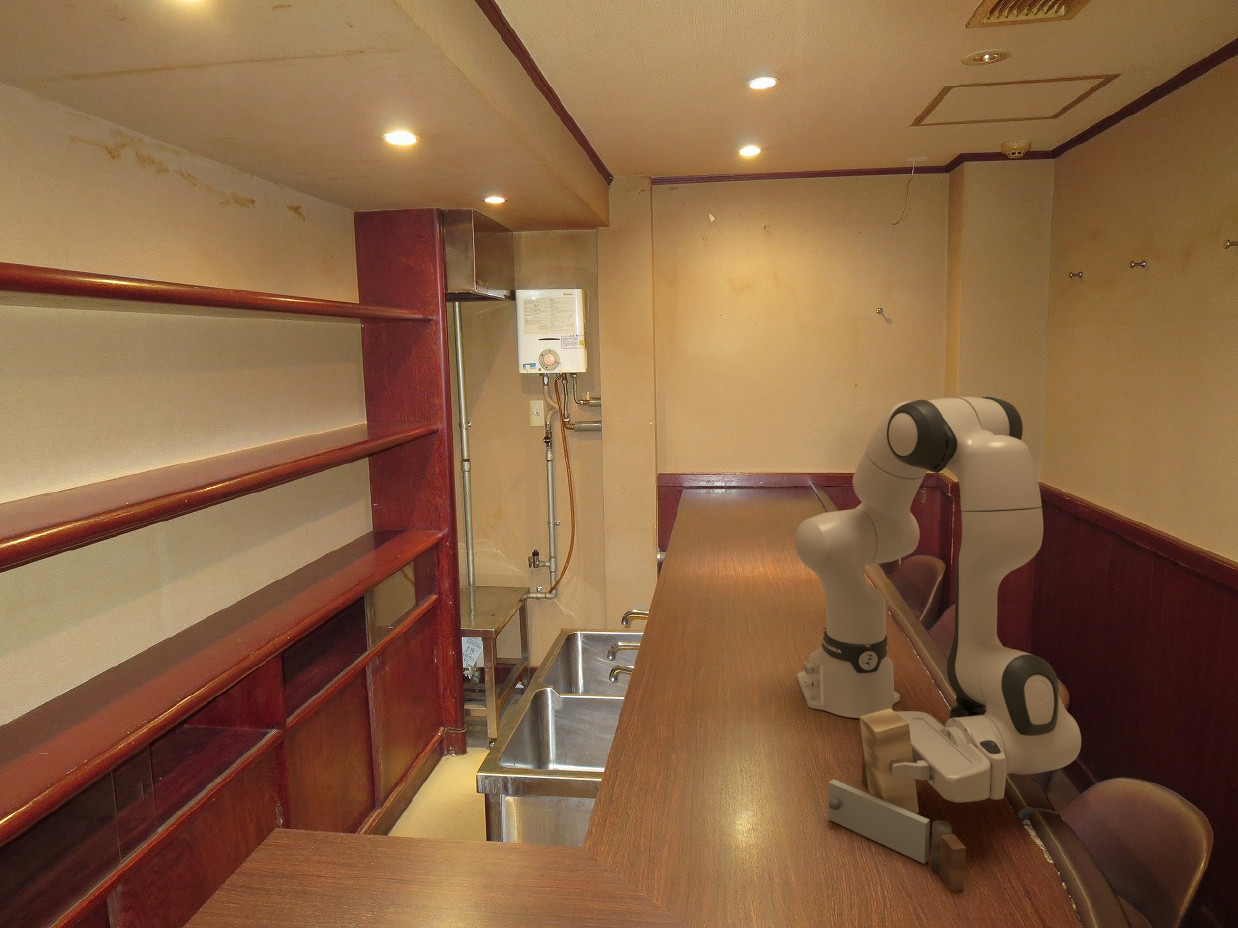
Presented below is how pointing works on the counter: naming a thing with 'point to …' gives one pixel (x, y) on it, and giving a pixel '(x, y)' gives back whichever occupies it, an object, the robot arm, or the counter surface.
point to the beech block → (888, 758)
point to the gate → (879, 820)
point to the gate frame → (942, 850)
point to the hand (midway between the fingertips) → (880, 757)
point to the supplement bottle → (966, 708)
